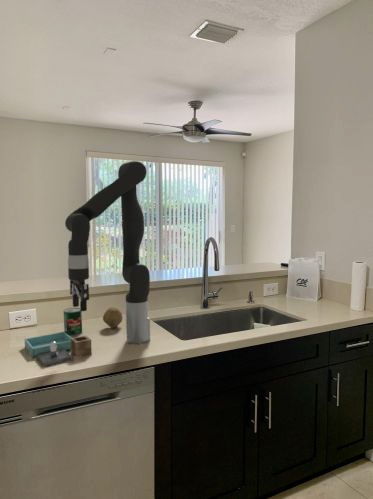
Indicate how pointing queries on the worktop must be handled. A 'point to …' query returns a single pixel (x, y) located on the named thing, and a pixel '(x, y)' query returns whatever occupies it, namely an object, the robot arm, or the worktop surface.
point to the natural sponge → (112, 317)
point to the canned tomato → (73, 321)
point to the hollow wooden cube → (81, 346)
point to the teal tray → (47, 343)
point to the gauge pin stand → (54, 356)
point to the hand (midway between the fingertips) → (79, 308)
